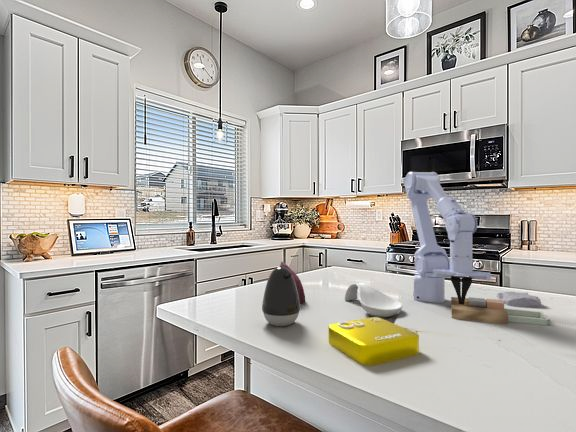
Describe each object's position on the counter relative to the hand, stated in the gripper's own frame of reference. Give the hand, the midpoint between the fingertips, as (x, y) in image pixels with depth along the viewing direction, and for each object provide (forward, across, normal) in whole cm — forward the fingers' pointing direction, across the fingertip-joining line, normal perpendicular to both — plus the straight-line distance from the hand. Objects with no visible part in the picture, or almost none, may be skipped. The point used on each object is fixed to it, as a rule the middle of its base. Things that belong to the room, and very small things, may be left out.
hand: (461, 303), depth 99 cm
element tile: (+4, -19, -33) cm, 39 cm away
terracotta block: (+2, +8, 0) cm, 9 cm away
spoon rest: (+4, -25, -4) cm, 26 cm away
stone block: (+4, +16, +19) cm, 25 cm away
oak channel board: (+3, +4, 0) cm, 5 cm away
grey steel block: (+2, +4, 0) cm, 5 cm away
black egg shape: (+4, -44, -27) cm, 52 cm away
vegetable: (+4, -51, -6) cm, 52 cm away
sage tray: (+3, +15, 0) cm, 16 cm away
